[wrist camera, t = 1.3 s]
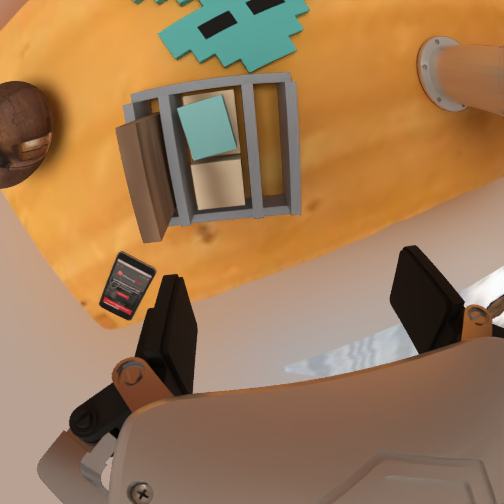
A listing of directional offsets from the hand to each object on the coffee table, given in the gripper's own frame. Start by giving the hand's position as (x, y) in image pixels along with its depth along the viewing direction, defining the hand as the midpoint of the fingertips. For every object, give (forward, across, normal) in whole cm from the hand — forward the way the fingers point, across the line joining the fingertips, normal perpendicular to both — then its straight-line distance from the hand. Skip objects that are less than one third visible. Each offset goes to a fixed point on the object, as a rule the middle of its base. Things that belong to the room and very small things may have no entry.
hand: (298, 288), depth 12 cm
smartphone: (+31, +25, +22) cm, 45 cm away
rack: (+30, +5, 0) cm, 30 cm away
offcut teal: (+26, +5, -4) cm, 27 cm away
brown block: (+30, +11, -1) cm, 32 cm away
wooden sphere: (+31, +32, -11) cm, 46 cm away
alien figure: (+30, 0, -20) cm, 37 cm away
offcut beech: (+30, +5, +4) cm, 31 cm away
